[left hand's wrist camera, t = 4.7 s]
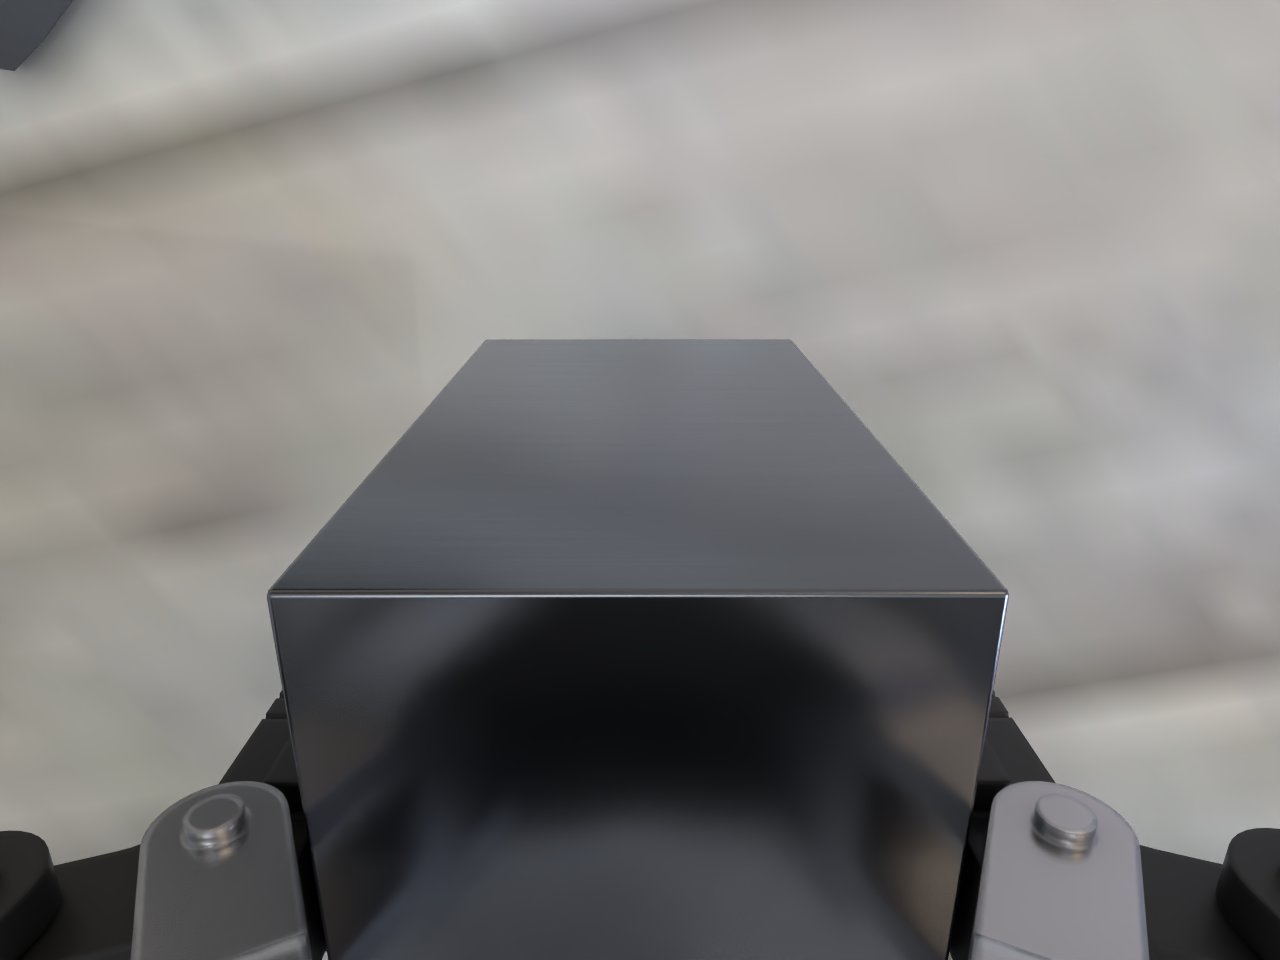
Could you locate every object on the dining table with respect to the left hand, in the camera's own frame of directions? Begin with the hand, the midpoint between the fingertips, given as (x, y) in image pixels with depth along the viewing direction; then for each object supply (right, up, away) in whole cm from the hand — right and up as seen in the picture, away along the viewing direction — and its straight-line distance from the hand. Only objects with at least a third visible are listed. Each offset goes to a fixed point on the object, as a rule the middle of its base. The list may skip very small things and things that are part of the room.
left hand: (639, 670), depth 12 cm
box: (0, -4, +8) cm, 9 cm away
